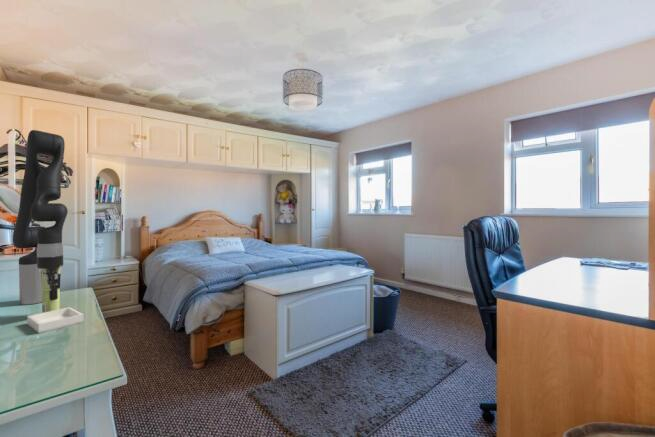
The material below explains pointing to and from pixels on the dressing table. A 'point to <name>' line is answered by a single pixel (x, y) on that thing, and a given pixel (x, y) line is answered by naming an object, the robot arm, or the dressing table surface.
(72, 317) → the tray
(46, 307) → the tube
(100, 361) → the dressing table surface
